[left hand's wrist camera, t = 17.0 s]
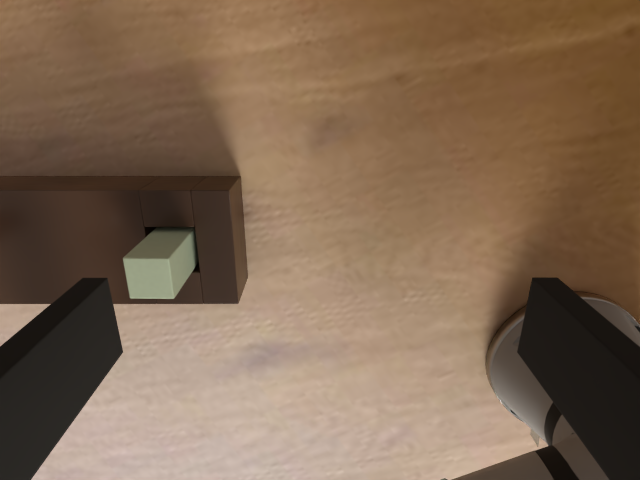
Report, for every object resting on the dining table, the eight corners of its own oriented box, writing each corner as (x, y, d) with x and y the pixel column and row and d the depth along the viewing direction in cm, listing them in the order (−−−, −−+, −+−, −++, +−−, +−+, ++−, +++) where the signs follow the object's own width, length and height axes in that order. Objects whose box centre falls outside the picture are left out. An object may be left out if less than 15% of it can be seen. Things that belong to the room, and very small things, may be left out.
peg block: (240, 176, 36) (205, 218, 25) (247, 278, 40) (219, 354, 29) (-55, 176, 36) (-220, 218, 25) (-21, 277, 40) (-153, 354, 29)
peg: (206, 214, 38) (168, 258, 28) (209, 246, 39) (174, 299, 30) (171, 213, 38) (122, 257, 28) (175, 246, 39) (129, 298, 30)
